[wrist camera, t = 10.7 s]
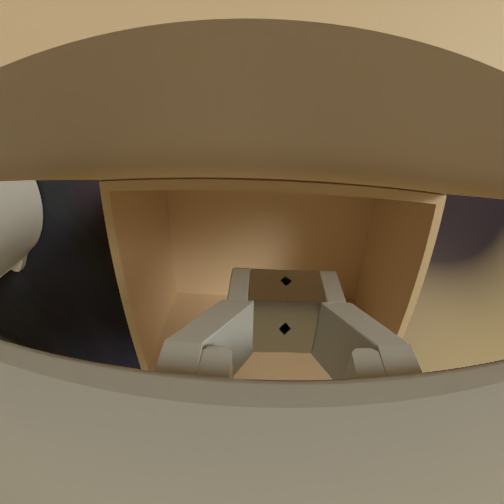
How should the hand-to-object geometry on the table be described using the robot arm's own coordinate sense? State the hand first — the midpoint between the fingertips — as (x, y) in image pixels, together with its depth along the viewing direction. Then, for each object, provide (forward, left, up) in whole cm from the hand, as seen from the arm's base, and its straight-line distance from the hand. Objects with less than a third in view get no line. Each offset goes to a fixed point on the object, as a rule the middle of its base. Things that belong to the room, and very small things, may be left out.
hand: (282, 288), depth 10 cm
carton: (0, -7, -20) cm, 21 cm away
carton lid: (0, +3, -1) cm, 3 cm away
